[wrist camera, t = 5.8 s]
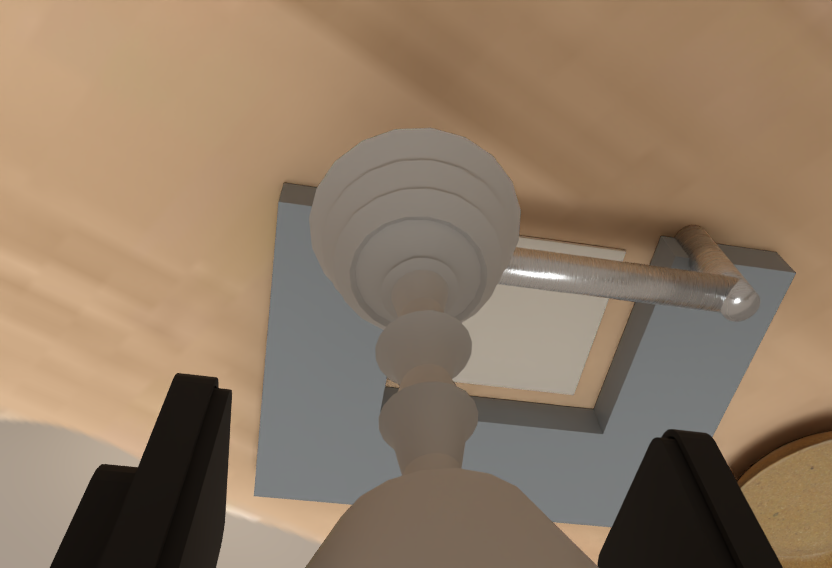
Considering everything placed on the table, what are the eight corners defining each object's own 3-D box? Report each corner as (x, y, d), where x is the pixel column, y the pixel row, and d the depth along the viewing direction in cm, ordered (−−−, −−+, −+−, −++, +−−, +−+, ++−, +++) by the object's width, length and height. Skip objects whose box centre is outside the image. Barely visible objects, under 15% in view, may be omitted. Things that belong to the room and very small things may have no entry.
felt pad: (624, 249, 35) (625, 251, 35) (572, 392, 40) (573, 395, 40) (443, 225, 34) (443, 226, 34) (410, 374, 39) (411, 377, 39)
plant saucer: (780, 598, 51) (799, 633, 49) (647, 506, 45) (660, 541, 43) (980, 480, 46) (1011, 513, 43) (856, 360, 40) (884, 391, 38)
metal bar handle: (712, 227, 35) (766, 291, 30) (699, 256, 36) (751, 323, 31) (368, 178, 33) (365, 238, 28) (363, 210, 34) (360, 274, 29)
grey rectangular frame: (776, 252, 36) (796, 272, 34) (653, 505, 45) (663, 531, 43) (283, 182, 33) (278, 201, 31) (259, 469, 42) (253, 496, 40)
